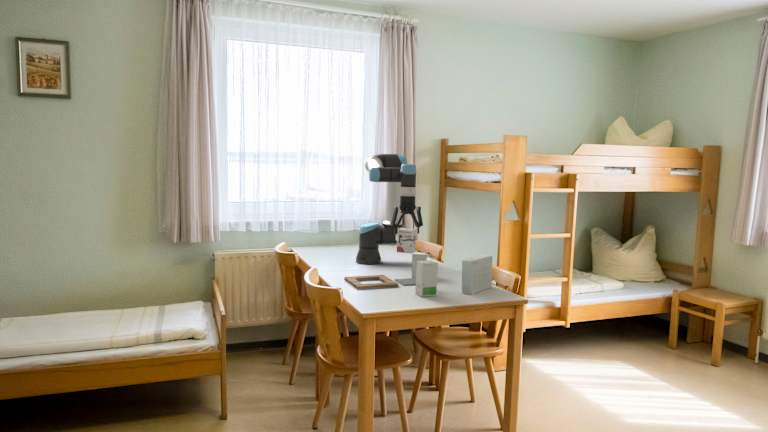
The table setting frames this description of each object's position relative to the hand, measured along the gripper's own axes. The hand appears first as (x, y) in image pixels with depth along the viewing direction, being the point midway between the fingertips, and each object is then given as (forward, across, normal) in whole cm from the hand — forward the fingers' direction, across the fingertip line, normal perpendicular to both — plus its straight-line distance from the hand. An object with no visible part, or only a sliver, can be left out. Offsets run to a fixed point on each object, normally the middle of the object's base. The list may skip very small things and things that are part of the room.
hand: (406, 240), depth 269 cm
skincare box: (+22, 0, -25) cm, 33 cm away
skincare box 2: (+22, +28, -23) cm, 42 cm away
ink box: (+6, 0, 0) cm, 6 cm away
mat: (+22, +2, 0) cm, 22 cm away
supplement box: (+22, +12, +11) cm, 27 cm away
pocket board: (+22, -18, +2) cm, 28 cm away
